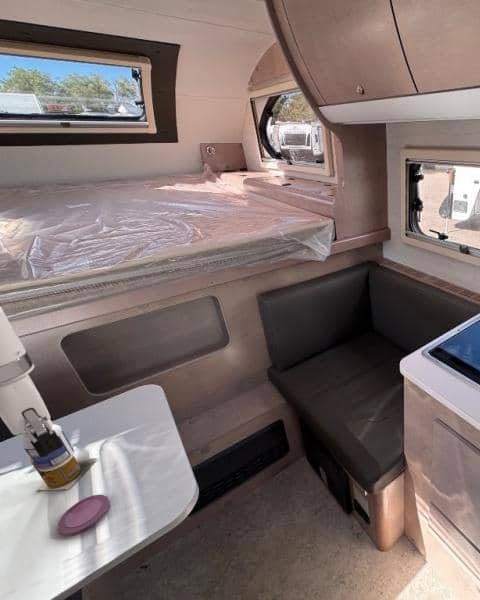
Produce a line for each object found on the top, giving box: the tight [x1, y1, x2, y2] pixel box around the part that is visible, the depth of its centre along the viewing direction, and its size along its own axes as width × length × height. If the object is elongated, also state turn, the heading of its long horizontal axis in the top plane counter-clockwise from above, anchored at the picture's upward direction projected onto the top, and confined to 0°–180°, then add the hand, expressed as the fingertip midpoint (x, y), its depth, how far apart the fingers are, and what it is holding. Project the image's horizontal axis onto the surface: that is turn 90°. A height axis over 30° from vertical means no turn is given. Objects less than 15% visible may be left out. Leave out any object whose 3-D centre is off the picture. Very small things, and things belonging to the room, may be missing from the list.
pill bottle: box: [20, 418, 75, 471], centre depth 63 cm, size 5×5×10 cm
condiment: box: [29, 455, 98, 491], centre depth 77 cm, size 7×8×12 cm
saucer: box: [56, 494, 111, 537], centre depth 70 cm, size 8×8×1 cm
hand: (46, 443), depth 63 cm, fingers closed on pill bottle, 5 cm apart
